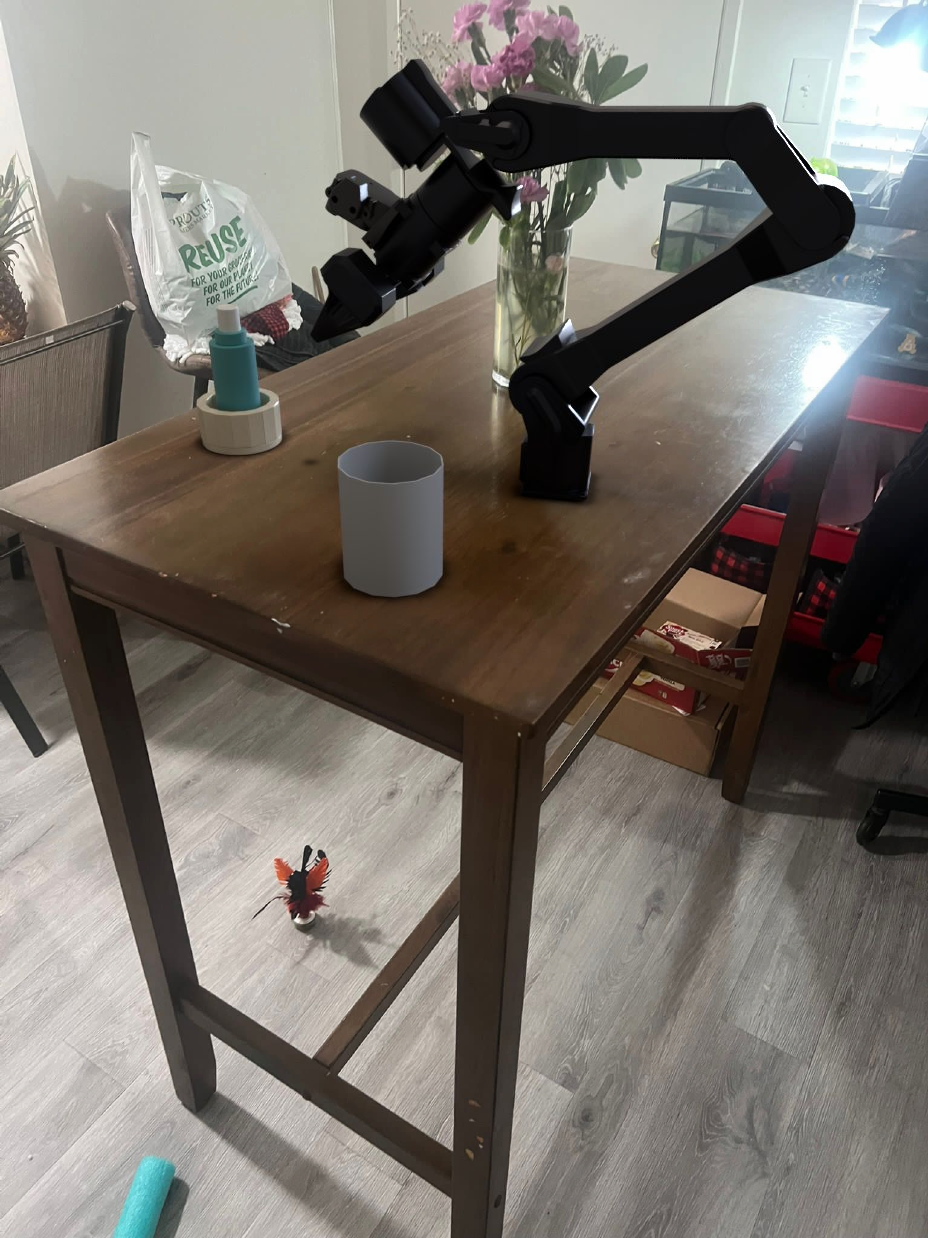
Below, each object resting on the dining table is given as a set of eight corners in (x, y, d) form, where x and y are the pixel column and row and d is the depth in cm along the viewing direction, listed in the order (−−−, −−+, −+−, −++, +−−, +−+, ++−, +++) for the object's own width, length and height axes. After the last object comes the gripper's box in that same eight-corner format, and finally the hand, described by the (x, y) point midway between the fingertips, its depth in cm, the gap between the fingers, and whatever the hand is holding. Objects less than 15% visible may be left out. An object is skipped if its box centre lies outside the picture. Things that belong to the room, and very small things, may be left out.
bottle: (271, 434, 99) (258, 308, 92) (233, 444, 97) (217, 315, 89) (250, 421, 102) (236, 298, 94) (213, 431, 99) (195, 305, 92)
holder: (293, 428, 103) (289, 390, 100) (265, 458, 96) (261, 417, 93) (221, 422, 104) (216, 383, 101) (189, 451, 97) (182, 410, 94)
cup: (418, 605, 72) (418, 491, 67) (326, 585, 75) (318, 473, 69) (456, 557, 79) (458, 449, 74) (370, 539, 81) (366, 434, 76)
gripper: (414, 128, 87) (315, 241, 95) (336, 149, 72) (227, 281, 80) (490, 223, 89) (388, 325, 98) (430, 263, 74) (315, 379, 83)
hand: (333, 325), depth 90 cm, fingers open, 9 cm apart
